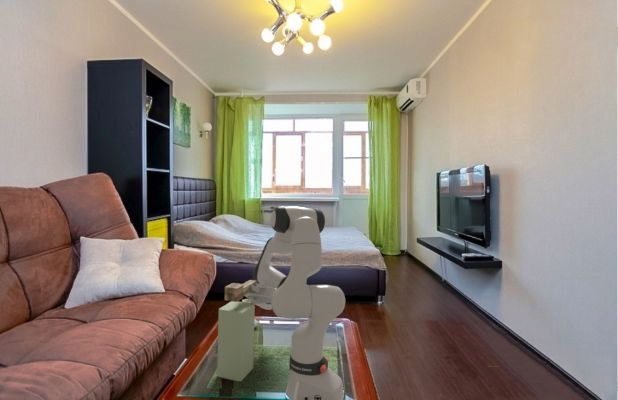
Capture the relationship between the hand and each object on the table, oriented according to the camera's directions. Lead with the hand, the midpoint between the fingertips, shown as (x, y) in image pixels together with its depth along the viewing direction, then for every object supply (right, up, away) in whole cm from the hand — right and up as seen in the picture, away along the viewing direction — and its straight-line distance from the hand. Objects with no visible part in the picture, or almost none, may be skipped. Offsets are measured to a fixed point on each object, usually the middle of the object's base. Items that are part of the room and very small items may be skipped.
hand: (246, 286), depth 137 cm
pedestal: (-3, -32, -5) cm, 33 cm away
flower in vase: (-6, -30, +35) cm, 47 cm away
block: (-1, -2, -3) cm, 4 cm away
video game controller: (+24, -31, +34) cm, 52 cm away
